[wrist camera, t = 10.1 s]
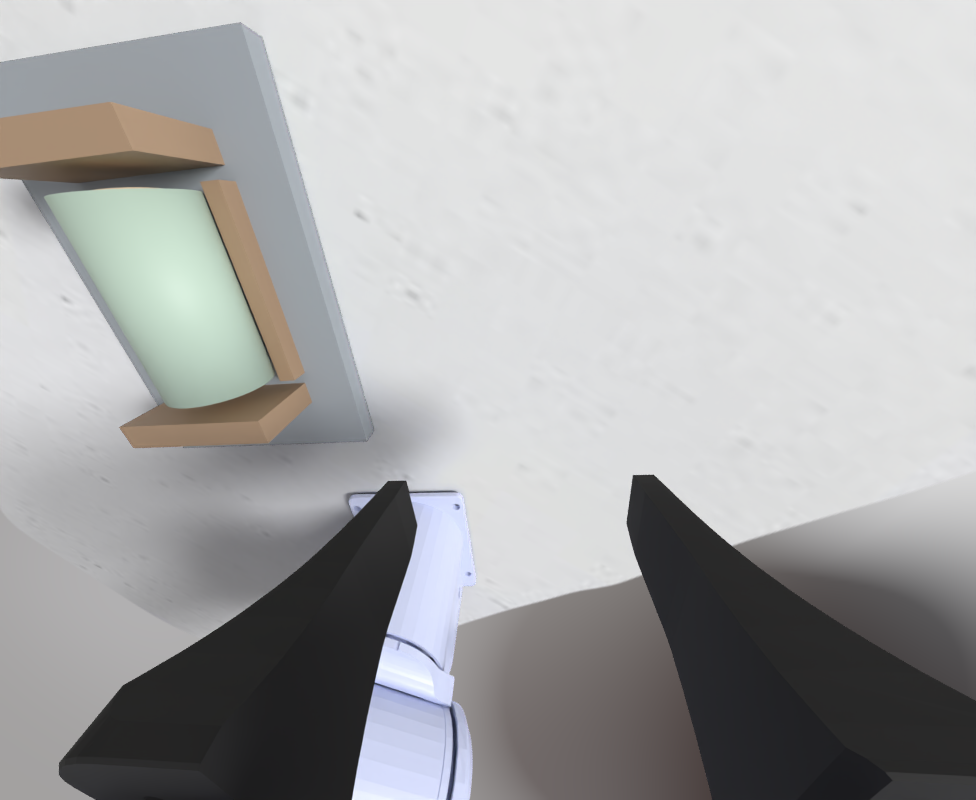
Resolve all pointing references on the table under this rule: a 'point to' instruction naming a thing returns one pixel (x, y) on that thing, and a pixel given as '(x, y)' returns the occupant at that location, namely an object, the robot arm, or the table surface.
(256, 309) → the holder
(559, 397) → the table surface
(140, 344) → the roll
